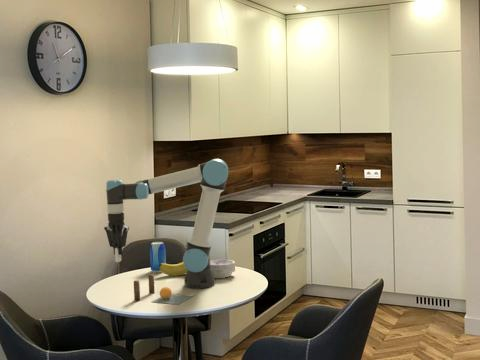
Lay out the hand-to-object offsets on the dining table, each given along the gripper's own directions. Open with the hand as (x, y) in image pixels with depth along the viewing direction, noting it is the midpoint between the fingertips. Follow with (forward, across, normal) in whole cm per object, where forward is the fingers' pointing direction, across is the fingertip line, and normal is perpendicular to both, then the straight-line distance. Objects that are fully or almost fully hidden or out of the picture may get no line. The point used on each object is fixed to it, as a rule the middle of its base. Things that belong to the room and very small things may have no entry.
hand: (118, 261), depth 287 cm
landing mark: (+16, -29, 0) cm, 33 cm away
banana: (+16, -9, -43) cm, 47 cm away
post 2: (+16, -14, -6) cm, 22 cm away
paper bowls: (+17, -32, -46) cm, 58 cm away
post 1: (+16, -14, +6) cm, 22 cm away
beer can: (+16, +7, -47) cm, 50 cm away
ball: (+13, -26, 0) cm, 29 cm away
